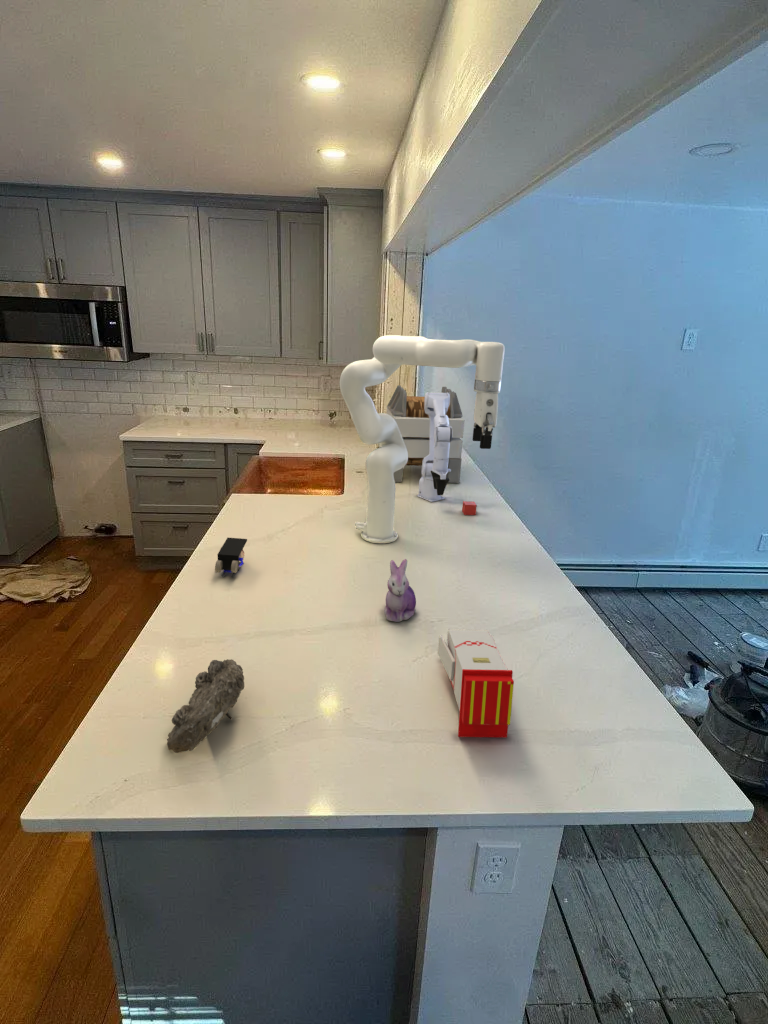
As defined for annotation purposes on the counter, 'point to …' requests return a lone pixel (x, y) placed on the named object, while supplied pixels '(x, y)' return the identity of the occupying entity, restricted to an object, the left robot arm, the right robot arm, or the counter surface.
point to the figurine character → (230, 556)
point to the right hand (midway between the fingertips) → (438, 492)
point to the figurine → (399, 594)
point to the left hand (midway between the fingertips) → (481, 444)
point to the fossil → (206, 705)
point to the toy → (478, 682)
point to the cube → (469, 508)
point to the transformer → (425, 430)
